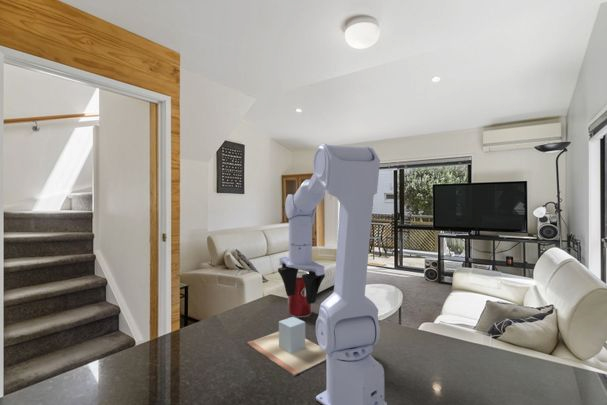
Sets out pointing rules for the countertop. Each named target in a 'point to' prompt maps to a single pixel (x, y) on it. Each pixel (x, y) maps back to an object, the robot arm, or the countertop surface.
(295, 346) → the block
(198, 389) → the countertop surface
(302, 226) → the robot arm
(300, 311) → the soda can
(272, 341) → the mat
